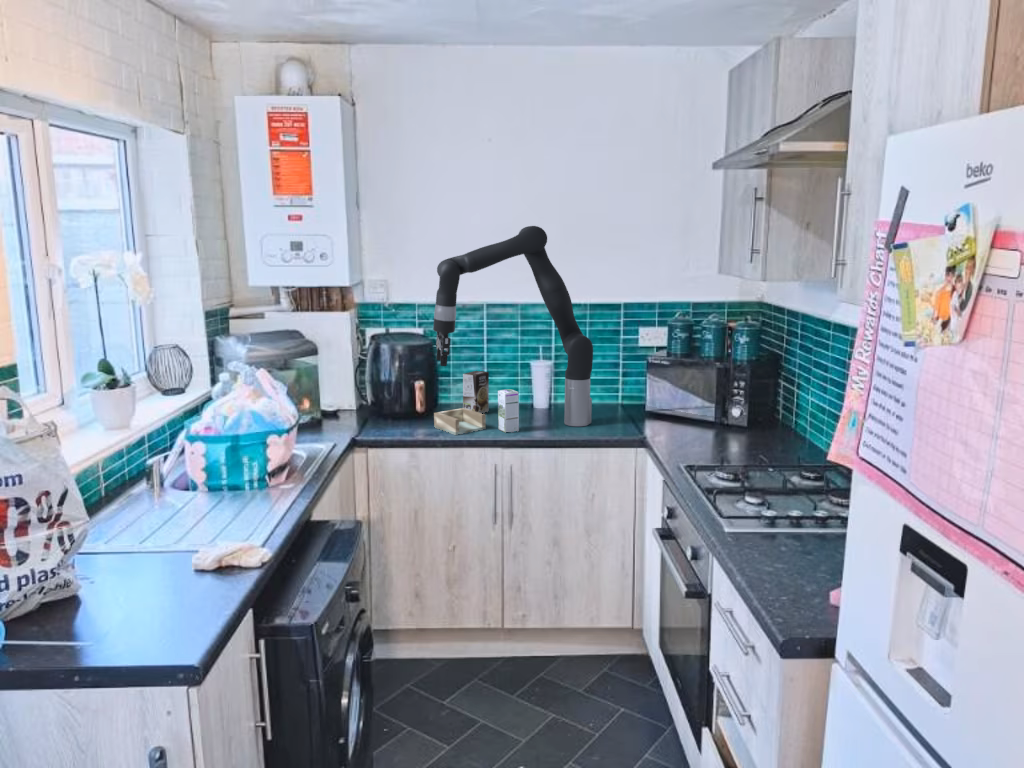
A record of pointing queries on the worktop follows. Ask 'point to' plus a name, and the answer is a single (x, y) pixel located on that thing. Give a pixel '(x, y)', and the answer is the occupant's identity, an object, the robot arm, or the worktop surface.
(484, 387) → the coffee box
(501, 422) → the syrup box
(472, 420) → the cubby
